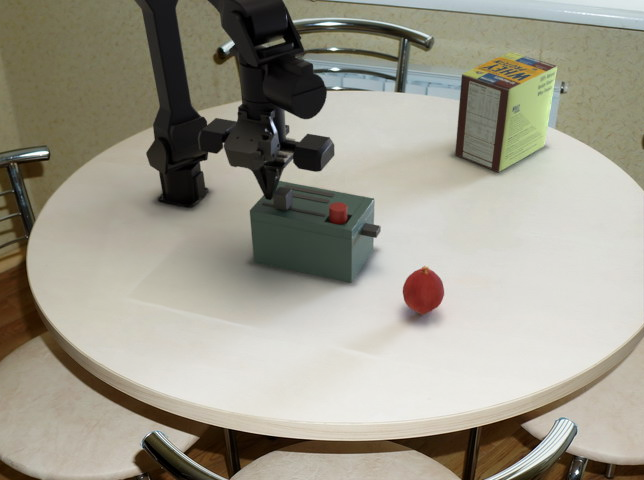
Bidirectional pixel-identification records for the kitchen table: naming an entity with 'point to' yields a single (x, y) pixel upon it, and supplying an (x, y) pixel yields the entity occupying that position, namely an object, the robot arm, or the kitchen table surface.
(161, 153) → the robot arm
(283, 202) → the slider
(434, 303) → the onion
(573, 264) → the kitchen table surface
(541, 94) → the protein box
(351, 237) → the toaster
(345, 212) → the button
